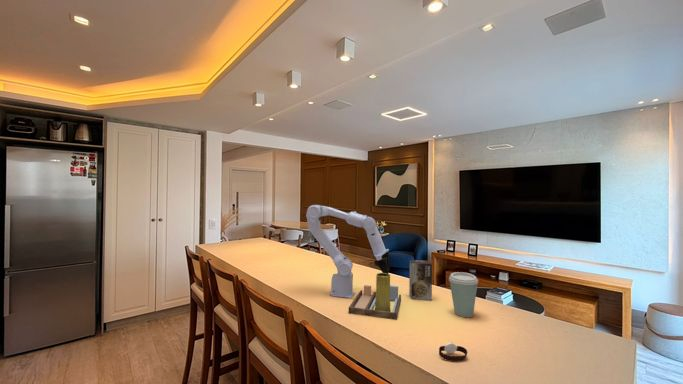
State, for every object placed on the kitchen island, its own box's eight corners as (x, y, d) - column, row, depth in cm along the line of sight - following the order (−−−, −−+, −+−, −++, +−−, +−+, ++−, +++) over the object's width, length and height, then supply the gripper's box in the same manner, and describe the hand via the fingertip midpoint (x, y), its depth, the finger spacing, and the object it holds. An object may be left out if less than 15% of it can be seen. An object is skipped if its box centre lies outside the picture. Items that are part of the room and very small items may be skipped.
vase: (372, 312, 108) (373, 275, 109) (377, 307, 114) (378, 271, 114) (387, 316, 106) (388, 277, 106) (392, 310, 111) (393, 273, 111)
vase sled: (368, 314, 106) (368, 298, 107) (376, 297, 126) (376, 283, 126) (393, 317, 104) (394, 301, 104) (398, 299, 123) (398, 286, 123)
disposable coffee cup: (481, 321, 103) (482, 279, 103) (450, 318, 105) (451, 277, 106) (474, 310, 113) (474, 272, 114) (446, 307, 116) (446, 270, 116)
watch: (462, 353, 81) (462, 340, 81) (470, 362, 76) (470, 349, 76) (436, 353, 81) (436, 340, 81) (442, 362, 76) (442, 348, 76)
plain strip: (352, 311, 108) (352, 299, 108) (362, 295, 127) (362, 284, 127) (364, 313, 107) (364, 300, 107) (372, 296, 126) (373, 285, 126)
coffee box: (428, 295, 130) (429, 260, 130) (432, 300, 123) (432, 263, 124) (408, 294, 131) (409, 259, 131) (410, 299, 124) (411, 262, 125)
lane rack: (348, 313, 107) (348, 307, 107) (360, 295, 128) (360, 290, 128) (396, 319, 102) (396, 313, 102) (401, 299, 123) (401, 294, 124)
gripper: (382, 243, 120) (394, 273, 119) (386, 236, 134) (397, 264, 133) (367, 248, 121) (378, 278, 121) (372, 241, 135) (382, 268, 135)
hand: (387, 271), depth 127 cm, fingers open, 7 cm apart
